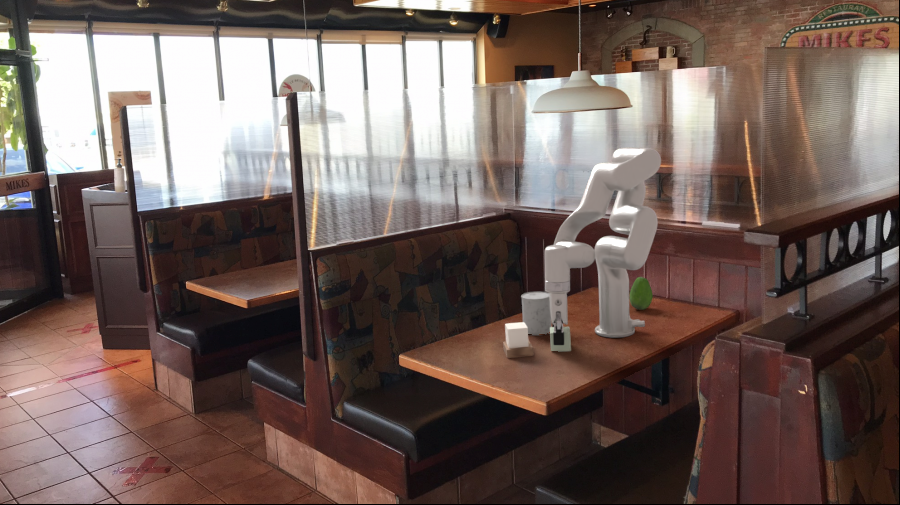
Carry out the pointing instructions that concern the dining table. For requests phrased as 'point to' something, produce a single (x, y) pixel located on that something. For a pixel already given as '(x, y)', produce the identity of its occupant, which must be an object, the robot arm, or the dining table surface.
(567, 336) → the sage block
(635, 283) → the avocado
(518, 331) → the tower cube
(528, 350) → the walnut slab
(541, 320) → the grey marble cylinder
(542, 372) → the dining table surface
